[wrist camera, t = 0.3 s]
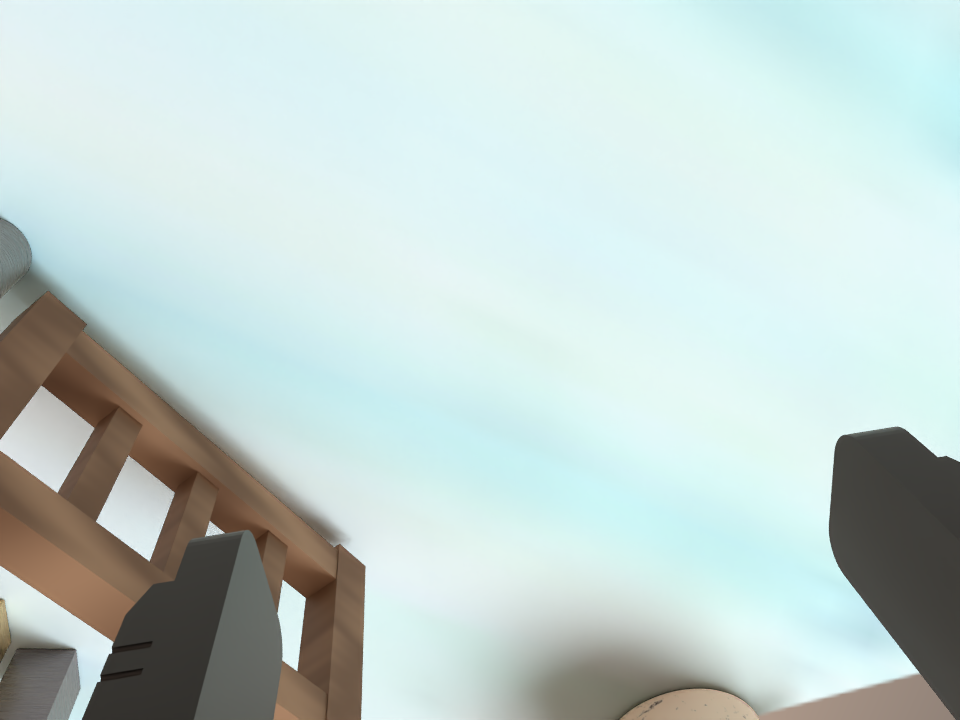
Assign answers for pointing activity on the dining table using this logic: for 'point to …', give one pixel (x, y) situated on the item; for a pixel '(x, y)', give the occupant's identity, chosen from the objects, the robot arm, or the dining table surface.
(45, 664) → the post
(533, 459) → the dining table surface
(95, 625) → the walnut gate
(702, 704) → the teacup with lid
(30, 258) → the hinge post
